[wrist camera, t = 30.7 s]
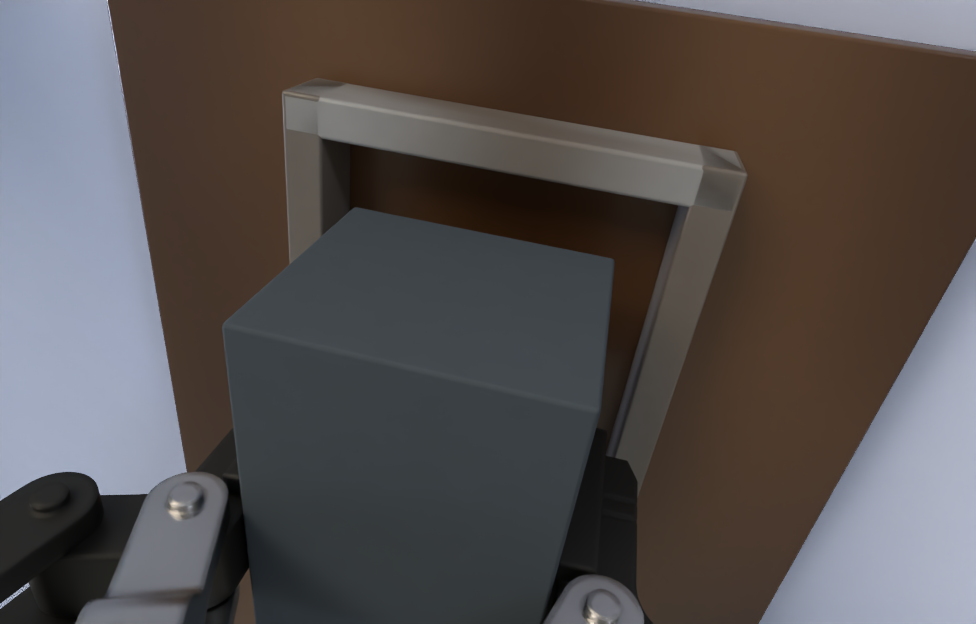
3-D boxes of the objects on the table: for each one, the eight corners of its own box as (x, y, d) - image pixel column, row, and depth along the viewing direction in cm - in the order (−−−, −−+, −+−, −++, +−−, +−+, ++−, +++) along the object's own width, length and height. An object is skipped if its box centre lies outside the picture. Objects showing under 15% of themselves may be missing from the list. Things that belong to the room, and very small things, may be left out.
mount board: (235, 637, 27) (196, 701, 25) (133, -76, 14) (29, -81, 11) (660, 762, 25) (662, 845, 22) (1034, 59, 11) (1132, 87, 9)
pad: (349, 525, 17) (262, 697, 13) (353, 205, 12) (218, 324, 8) (536, 575, 16) (502, 769, 12) (615, 258, 11) (601, 410, 8)
